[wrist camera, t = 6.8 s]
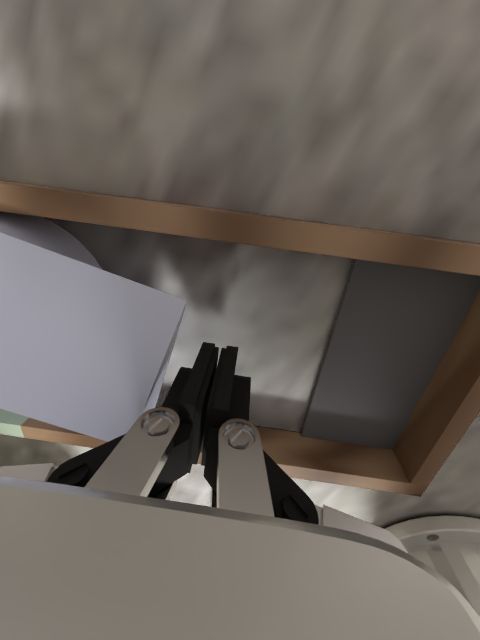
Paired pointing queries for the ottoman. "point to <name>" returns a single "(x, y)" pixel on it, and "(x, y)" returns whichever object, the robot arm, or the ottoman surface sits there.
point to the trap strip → (385, 350)
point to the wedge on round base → (77, 333)
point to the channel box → (320, 238)
